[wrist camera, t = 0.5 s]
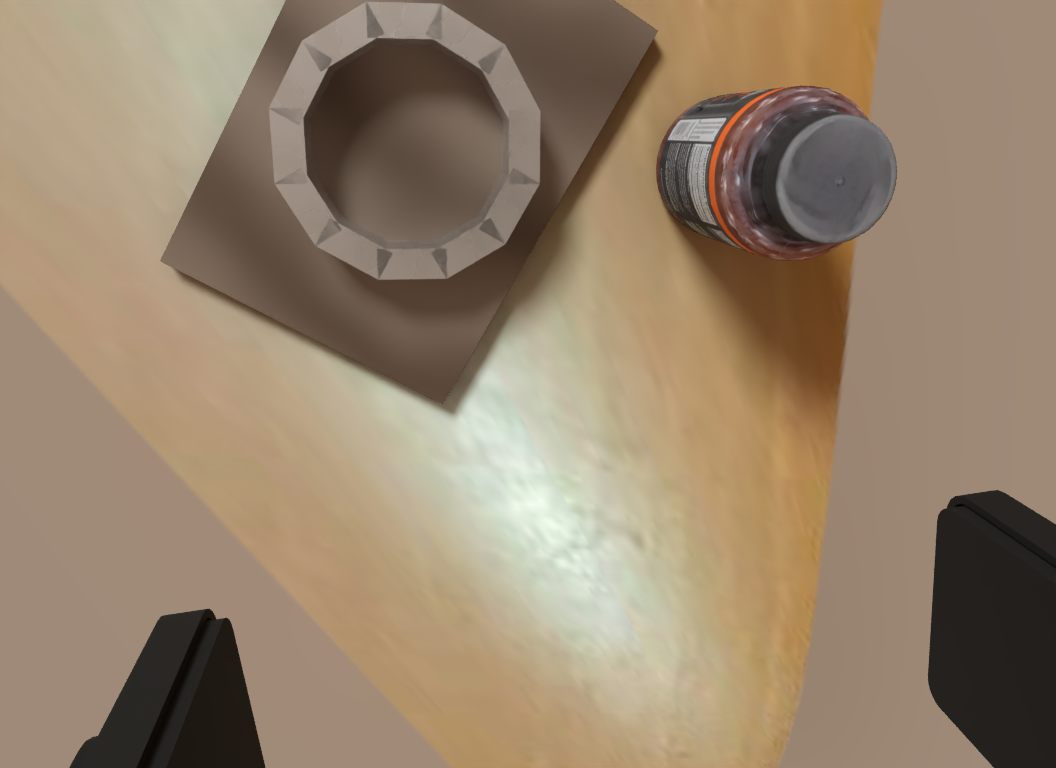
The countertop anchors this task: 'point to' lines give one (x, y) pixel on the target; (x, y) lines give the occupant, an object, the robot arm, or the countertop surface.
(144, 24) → the countertop surface
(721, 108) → the supplement bottle
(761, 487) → the countertop surface
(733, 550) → the countertop surface
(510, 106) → the steel collar
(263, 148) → the holder board
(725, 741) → the countertop surface
